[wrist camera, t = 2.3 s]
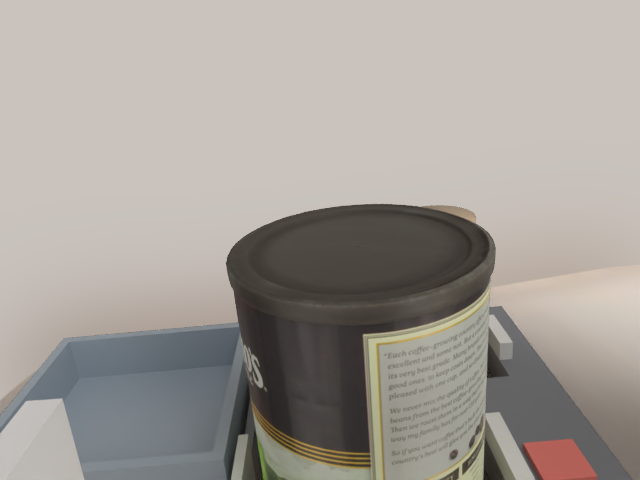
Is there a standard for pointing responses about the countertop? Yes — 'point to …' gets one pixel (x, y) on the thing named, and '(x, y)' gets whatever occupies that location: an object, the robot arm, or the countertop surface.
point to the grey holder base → (511, 420)
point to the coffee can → (366, 342)
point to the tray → (149, 401)
